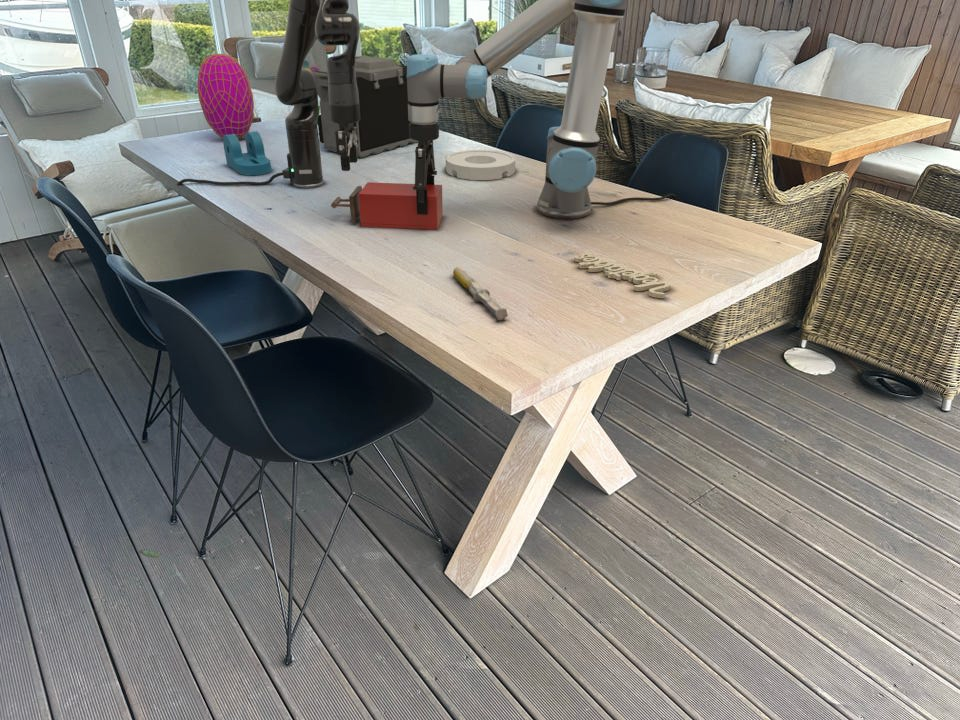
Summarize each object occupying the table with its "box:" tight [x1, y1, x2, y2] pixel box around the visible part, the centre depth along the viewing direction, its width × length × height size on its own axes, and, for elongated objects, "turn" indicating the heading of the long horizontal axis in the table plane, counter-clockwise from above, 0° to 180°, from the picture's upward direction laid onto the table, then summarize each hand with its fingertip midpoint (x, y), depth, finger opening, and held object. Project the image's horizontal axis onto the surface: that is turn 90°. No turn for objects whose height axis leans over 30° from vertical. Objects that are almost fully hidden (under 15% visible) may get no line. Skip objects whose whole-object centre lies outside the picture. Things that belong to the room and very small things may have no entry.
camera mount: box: [222, 131, 272, 176], centre depth 226 cm, size 18×10×10 cm, turn 35°
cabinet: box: [358, 181, 444, 231], centre depth 183 cm, size 20×11×9 cm, turn 85°
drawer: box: [330, 185, 363, 223], centre depth 184 cm, size 25×9×7 cm, turn 85°
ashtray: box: [445, 149, 516, 181], centre depth 229 cm, size 23×23×4 cm
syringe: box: [452, 266, 509, 321], centre depth 145 cm, size 25×4×3 cm, turn 21°
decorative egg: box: [197, 53, 255, 140], centre depth 258 cm, size 19×19×30 cm
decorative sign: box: [574, 252, 671, 299], centre depth 155 cm, size 26×1×10 cm
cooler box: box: [311, 55, 418, 159], centre depth 250 cm, size 37×22×30 cm, turn 144°
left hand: (349, 166), depth 181 cm, fingers open, 8 cm apart
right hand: (426, 206), depth 183 cm, fingers open, 12 cm apart
